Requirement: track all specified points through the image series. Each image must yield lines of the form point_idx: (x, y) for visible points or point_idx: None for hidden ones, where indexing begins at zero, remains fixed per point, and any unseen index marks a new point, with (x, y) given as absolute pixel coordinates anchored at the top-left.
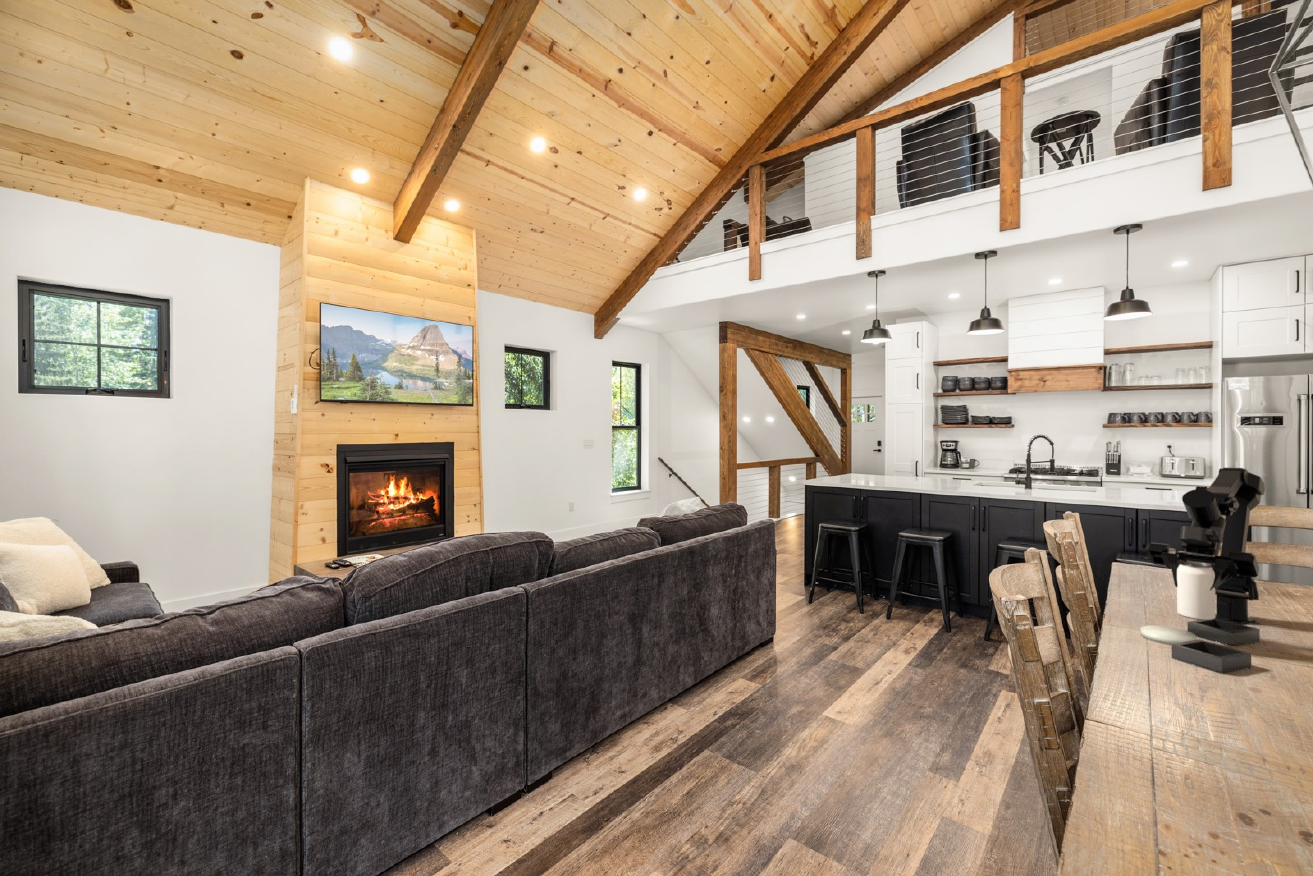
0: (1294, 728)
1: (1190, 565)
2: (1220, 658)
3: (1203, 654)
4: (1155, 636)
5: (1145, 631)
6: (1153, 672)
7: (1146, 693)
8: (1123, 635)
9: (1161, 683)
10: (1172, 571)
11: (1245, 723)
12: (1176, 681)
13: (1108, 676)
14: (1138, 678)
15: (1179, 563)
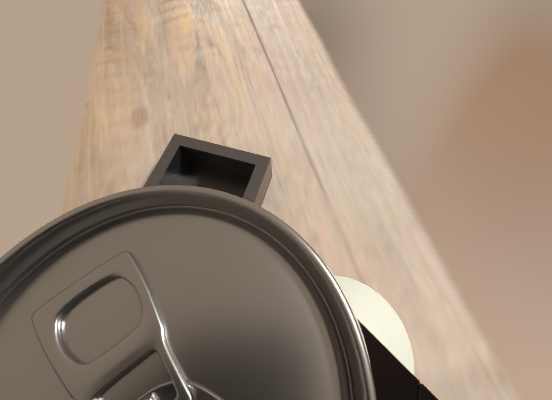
0: (107, 29)
1: (208, 353)
2: (176, 135)
3: (207, 143)
4: (343, 277)
5: (377, 297)
6: (269, 82)
7: (251, 12)
8: (415, 274)
9: (247, 51)
10: (411, 377)
11: (151, 9)
12: (234, 71)
13: (306, 28)
14: (276, 47)
15: (344, 296)
